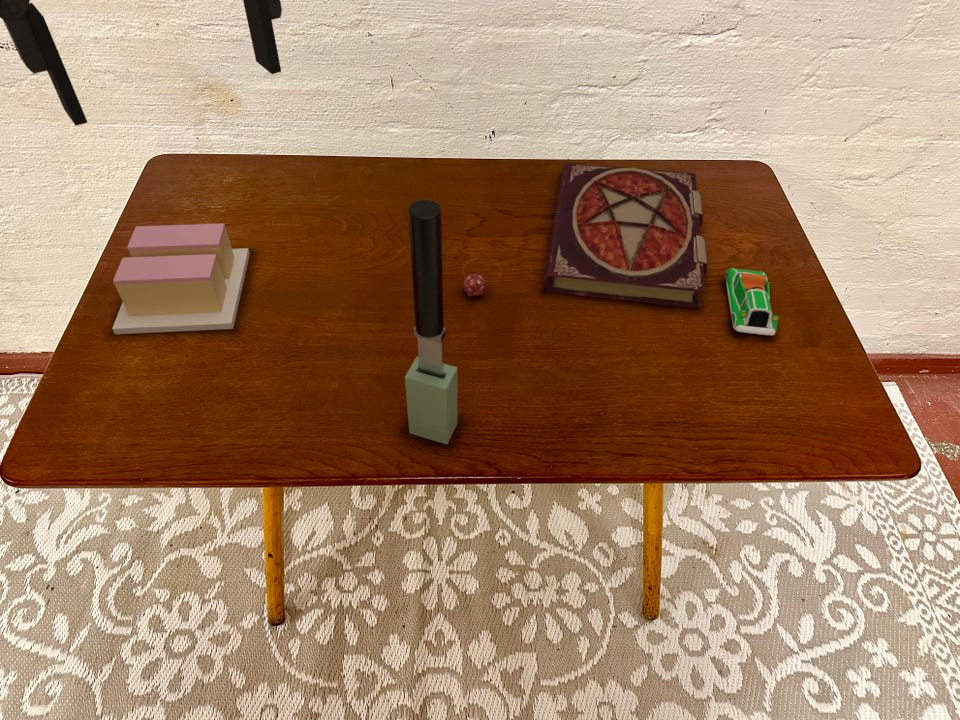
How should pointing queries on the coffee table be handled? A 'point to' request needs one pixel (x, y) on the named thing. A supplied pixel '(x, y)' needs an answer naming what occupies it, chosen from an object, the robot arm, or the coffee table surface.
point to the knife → (427, 284)
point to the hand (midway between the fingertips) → (178, 90)
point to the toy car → (750, 302)
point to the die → (474, 284)
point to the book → (628, 236)
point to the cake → (179, 280)
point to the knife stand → (432, 403)
